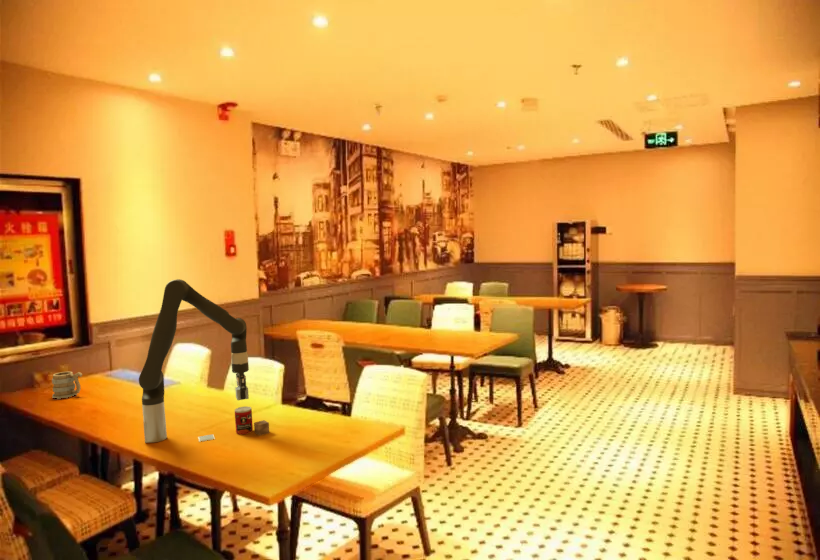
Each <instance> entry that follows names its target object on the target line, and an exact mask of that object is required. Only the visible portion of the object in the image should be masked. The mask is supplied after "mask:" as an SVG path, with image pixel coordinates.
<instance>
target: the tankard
mask: <svg viewBox="0 0 820 560" xmlns="http://www.w3.org/2000/svg"><path fill="white" fill-rule="evenodd" d="M79 377H80V378H82V377H83V373H82V372H80V371H78V372H76V373H75V374H74V373H73V371H61V372H56V373H53V374H52V379H51V384H52V385H53V386H52V392H53V394H52V396H51V397H52V398H57V399H56V400H62V399H61V398H66V399H69V398H68V397H71V396H74V395H76V396H77V395H78V394H80V391H81V384H80V381H79ZM74 397H75V396H74ZM71 398H72V397H71Z"/></svg>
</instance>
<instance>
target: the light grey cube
mask: <svg viewBox="0 0 820 560" xmlns="http://www.w3.org/2000/svg"><path fill="white" fill-rule="evenodd" d="M242 388H244V386H242ZM234 390H235V398H236V401H243V400H244V401H245V400H249V388H248V386H247V385H246V391H245V396H246V398H245V399H241V397H240V387H238V386H235V389H234Z"/></svg>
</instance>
